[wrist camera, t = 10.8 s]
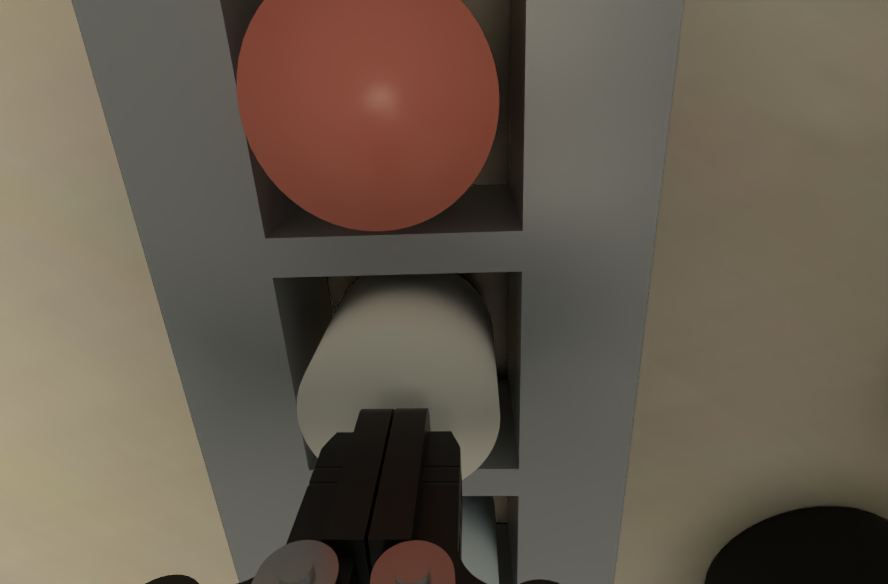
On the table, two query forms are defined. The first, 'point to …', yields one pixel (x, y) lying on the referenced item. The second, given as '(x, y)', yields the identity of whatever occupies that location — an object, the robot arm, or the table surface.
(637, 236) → the three-slot peg holder
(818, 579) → the mug
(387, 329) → the beige rounded block
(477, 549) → the pale blue rounded block
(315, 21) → the red rounded block
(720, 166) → the table surface
